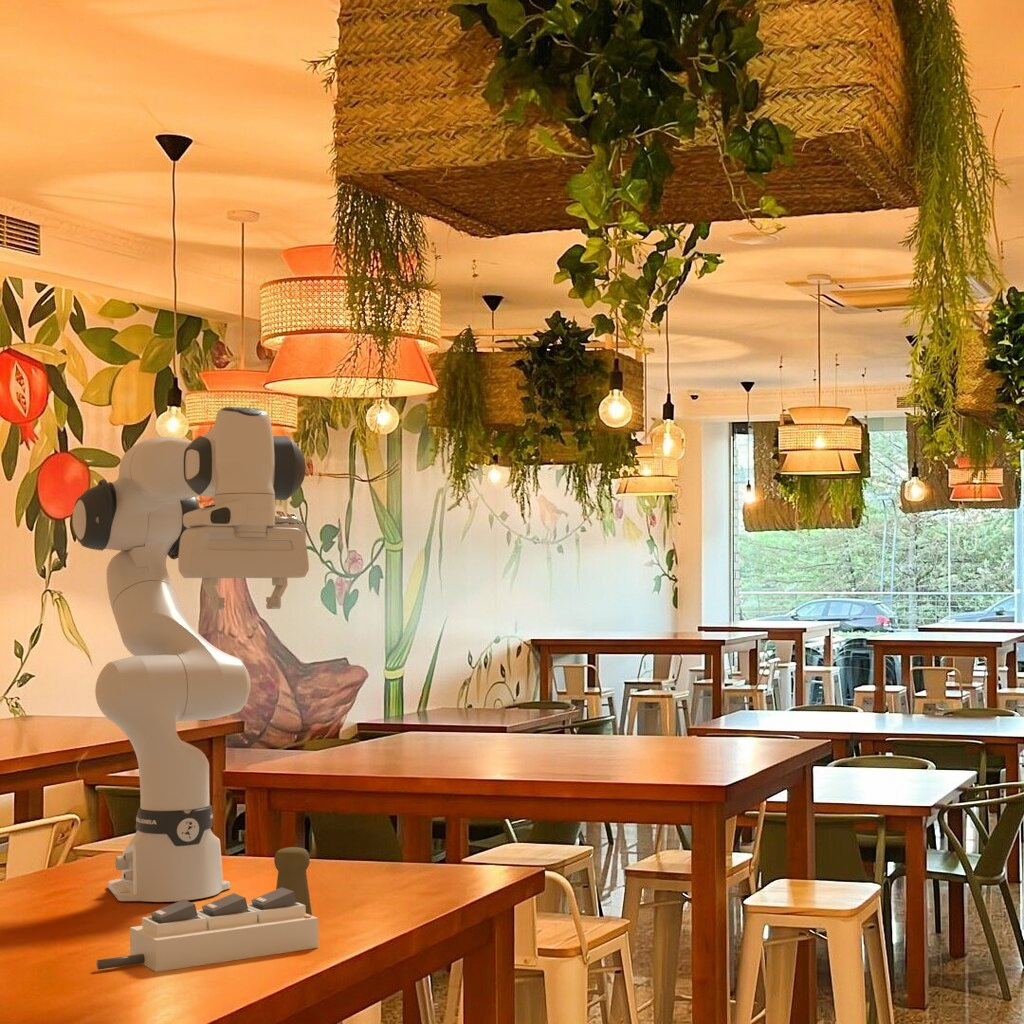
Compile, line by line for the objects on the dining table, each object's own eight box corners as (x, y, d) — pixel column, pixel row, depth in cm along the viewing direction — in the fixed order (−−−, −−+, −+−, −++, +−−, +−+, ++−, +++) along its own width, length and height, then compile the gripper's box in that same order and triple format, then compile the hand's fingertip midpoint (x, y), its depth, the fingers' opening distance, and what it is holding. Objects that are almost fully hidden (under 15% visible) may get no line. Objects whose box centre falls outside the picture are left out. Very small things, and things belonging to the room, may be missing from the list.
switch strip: (86, 963, 204) (85, 921, 204) (287, 934, 220) (287, 895, 220) (110, 978, 195) (110, 934, 196) (318, 947, 211) (318, 906, 212)
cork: (315, 918, 231) (314, 844, 231) (311, 927, 225) (310, 850, 225) (274, 919, 231) (273, 845, 231) (269, 928, 224) (268, 851, 225)
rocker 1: (153, 924, 206) (150, 911, 206) (186, 910, 209) (183, 898, 208) (164, 929, 203) (160, 916, 203) (197, 915, 205) (194, 902, 205)
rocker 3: (254, 911, 214) (250, 899, 214) (284, 898, 216) (281, 886, 216) (265, 915, 210) (262, 903, 210) (296, 902, 213) (293, 890, 213)
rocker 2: (204, 917, 210) (201, 905, 210) (236, 904, 213) (233, 892, 212) (216, 922, 207) (212, 910, 206) (248, 908, 209) (245, 896, 209)
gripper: (293, 518, 236) (294, 608, 235) (172, 515, 223) (173, 610, 222) (316, 515, 232) (317, 608, 231) (193, 512, 218) (194, 610, 217)
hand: (245, 609), depth 226 cm, fingers open, 8 cm apart
